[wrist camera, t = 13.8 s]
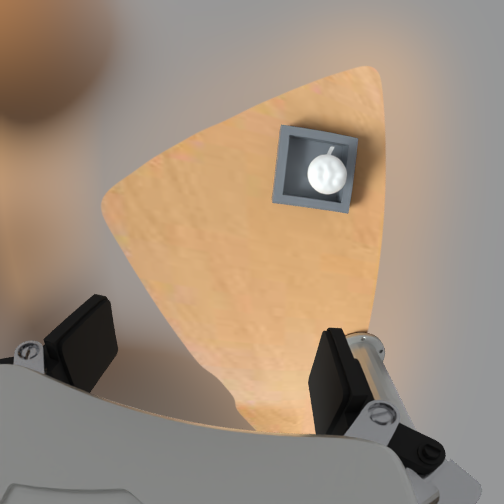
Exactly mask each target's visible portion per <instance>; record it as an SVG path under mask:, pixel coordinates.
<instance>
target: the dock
mask: <svg viewBox="0 0 504 504" xmlns="http://www.w3.org/2000/svg"><path fill="white" fill-rule="evenodd" d="M357 145H358V138H354V137H349V136H345V135H340V134H335V133H330V132H324V131H319V130H313V129H307V128H300V127H294V126H286V125H281V127H280V133H279V142H278V151H277V159H276V168H275V177H274V185H273V194H272V203H278V204H286V205H294V206H301V207H308V208H315V209H322V210H329V211H336V212H342V213H348V212H349V206H350V200H351V193H352V186H353V179H354V171H355V163H356V155H357ZM331 146H334V149H333V151H332V153H331V155H333V156H335V157H337V158H339V159H340V160H341V161H342V163H343V164H344V166H345V168H346V171H347V177H346V182H345V185H344V186H343V188H342V189H340V190H339V191H337V192H335V193H333V194H323V193H320V192H318V191H316V190H315V189H314V188H313V187H312V186H311V185H310V183H309V182H308V181H307V180H306V178H305V176H304V169H305V167H306V166H307V165H308V164H309V163H310V162H311V161H313V160H314V159H315V158H316V157H318V156H320V155H327V153H328V151H329V148H330V147H331Z"/></svg>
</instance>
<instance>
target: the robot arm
mask: <svg viewBox="0 0 504 504" xmlns="http://www.w3.org/2000/svg"><path fill="white" fill-rule="evenodd" d="M44 342H45V345H44V346H42V345H41V343H39V342H37V341H27V342H24V343H21V344H20V345H19V346H18V347H17V348H16V350H15V353H14V357H9V358H4V359H0V504H476V503H477V501H478V500H479V498H480V496H481V492H482V488H481V485H480V484H479V482H478V481H477V480H475V479H474V478H473V477H472V476H471V475H469V474H468V473H467V472H466V471H465V470H463V469H462V468H461V467H460V466H458V465H457V464H456V463H455V462H454V461H453V460H449V461H447V460H446V459H445V456H446V455H445V450H444V448H443V446H442V445H441V444H440V443H439V442H437V441H436V440H434V439H432V438H430V437H428V436H425V435H423V434H421V433H419V432H417V430H416V429H415V427H414V425H413V423H412V421H411V419H410V417H409V415H408V413H407V411H406V409H405V407H404V404H403V402H402V400H401V398H400V396H399V394H398V392H397V390H396V388H395V386H394V384H393V382H392V380H391V378H390V376H389V374H388V372H387V370H386V368H385V366H384V364H383V360H384V356H385V349H384V346H383V344H382V343H381V341H380V340H379V339H378V338H377V337H376V336H374V335H372V334H369V333H354V334H350V335H347V336H345V335H344V332H343V330H342V329H341V328H328V329H327V331H323V332H322V336H321V339H320V343H319V346H318V350H317V353H316V356H315V360H314V363H313V366H312V369H311V373H310V376H309V381H308V385H309V391H310V398H311V404H312V411H313V418H314V425H315V431H316V434H292V433H275V432H262V431H250V430H241V429H233V428H225V427H219V426H212V425H206V424H200V423H195V422H190V421H185V420H180V419H175V418H171V417H167V416H163V415H159V414H154V413H151V412H147V411H143V410H140V409H136V408H133V407H130V406H126V405H123V404H120V403H117V402H114V401H111V400H108V399H105V398H102V397H99V396H97V395H94V394H91V393H90V392H91V390H92V389H93V388H94V386H95V385H96V383H97V382H98V380H99V379H100V377H101V376H102V374H103V373H104V371H105V370H106V369H107V367H108V366H109V365H110V363H111V362H112V360H113V359H114V357H115V356H116V354H117V352H118V346H117V341H116V335H115V329H114V324H113V317H112V310H111V303H110V301H109V300H108V299H107V297H106V296H102V295H97V294H94V295H93V296H92V297H91V298H89V299H88V300H87V301H86V302H85V303H84V304H82V305H81V306H80V307H79V308H78V309H77V310H76V311H74V312H73V313H72V314H71V315H70V316H69V317H68V318H66V319H65V320H64V321H63V322H62V323H61V324H60V325H59V326H57V327H56V328H55V329H54V330H53V331H52V332H51V333H50V334H49V335H48V336H47V337H45V338H44Z"/></svg>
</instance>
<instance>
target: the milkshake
mask: <svg viewBox="0 0 504 504" xmlns="http://www.w3.org/2000/svg"><path fill="white" fill-rule="evenodd" d="M333 149H334V146H331V147H330V148H329V151H328V153H327V155H320V156H318V157H316V158H315V159H314V160H313V161H311V162H310V163H309V164H308V165H307V166H306V167H305V169H304V176H305V178H306V180H307V181H308V182H309V183H310V185H311V186H312V187H313V188H314V189H315V190H316V191H318V192H320V193H323V194H333V193H335V192H337V191H339V190H340V189H342V188H343V186H344V185H345V182H346V177H347V171H346V168H345V166H344V164H343V163H342V161H341V160H340V159H339V158H337V157H335V156H333V155H331V153H332V151H333Z"/></svg>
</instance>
